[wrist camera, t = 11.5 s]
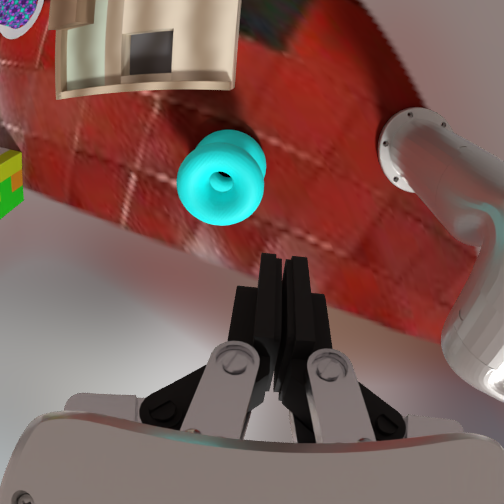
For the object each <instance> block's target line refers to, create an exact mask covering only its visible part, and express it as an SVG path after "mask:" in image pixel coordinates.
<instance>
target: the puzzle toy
mask: <svg viewBox="0 0 504 504" xmlns="http://www.w3.org/2000/svg"><path fill="white" fill-rule="evenodd" d="M22 201H24V196H23V184H22V152H19V151H15V150H10V149H6V148H1V147H0V219H1V218H3V217H4V216H5V215H6V214H7V213H9V212H10V211H11V210H12V209H13V208H15V207H16V206H17V205H18V204H20V203H21V202H22Z"/></svg>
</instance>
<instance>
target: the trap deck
mask: <svg viewBox="0 0 504 504" xmlns="http://www.w3.org/2000/svg"><path fill="white" fill-rule="evenodd" d="M240 11H241V0H96V2H95V14H94V24H90V25H85V26H81V27H77V28H73V29H69V30H56V47H55V82H56V100H58V99H65V98H71V97H78V96H86V95H94V94H103V93H114V92H126V91H142V90H168V89H205V90H231V89H233V88H235V74H236V60H237V47H238V35H239V23H240Z"/></svg>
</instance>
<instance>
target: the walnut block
mask: <svg viewBox="0 0 504 504" xmlns="http://www.w3.org/2000/svg"><path fill="white" fill-rule="evenodd" d="M95 2H96V0H51V2H50V13H49V26H48V30H69V29H73V28H77V27H81V26H85V25H90V24H94V14H95Z"/></svg>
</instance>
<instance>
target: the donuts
mask: <svg viewBox="0 0 504 504" xmlns="http://www.w3.org/2000/svg"><path fill="white" fill-rule="evenodd" d="M219 172H224V173H227V174H228V175H229V176H230V177H224V176H222V175H221V174H220V173H219ZM265 173H266V159H265V155H264V153H263V150H262V149H261V147H260V145H259V144H258V143H257V142H256V141H255V140H254V139H253V138H252V137H250V136H249V135H247V134H245V133H243V132H240V131H237V130H220V131H216V132H213V133H211V134H209V135H208V136H206V137H205V138H204V139H203V140H202V141H201V142H200V143H199V144H198V145H197V147H196V149H195V150H193V151H192V152H191V153H190V154H189V155H188V156H187V157H186V158H185V159H184V160H183V162H182V164H181V166H180V168H179V171H178V175H177V191H178V195H179V197H180V200H181V202H182V203H183V205H184V206H185V208H186V209H187V210H188V211H189V212H190V213H191V214H192V215H193V216H194V217H196V218H197V219H199V220H201V221H203V222H206V223H209V224H213V225H231V224H235V223H238V222H240V221H243V220H244V219H246V218H247V217H249V216H250V215H251V214H252V213H253V212H254V211H255V210H256V208H257V207H258V205H259V204H260V202H261V199H262V196H263V191H264V176H265Z"/></svg>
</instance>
